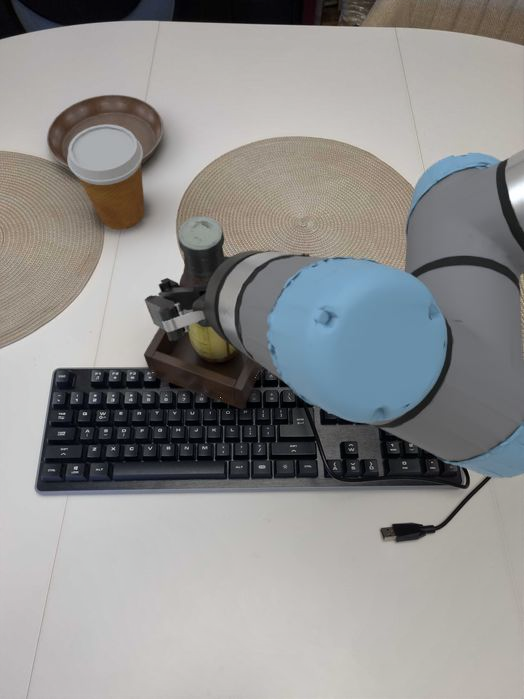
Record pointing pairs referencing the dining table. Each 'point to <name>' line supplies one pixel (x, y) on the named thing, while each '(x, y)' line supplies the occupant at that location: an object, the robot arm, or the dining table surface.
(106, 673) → the dining table surface
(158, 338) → the box
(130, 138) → the disposable coffee cup
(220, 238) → the sauce bottle
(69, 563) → the dining table surface
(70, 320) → the dining table surface
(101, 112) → the plant saucer
